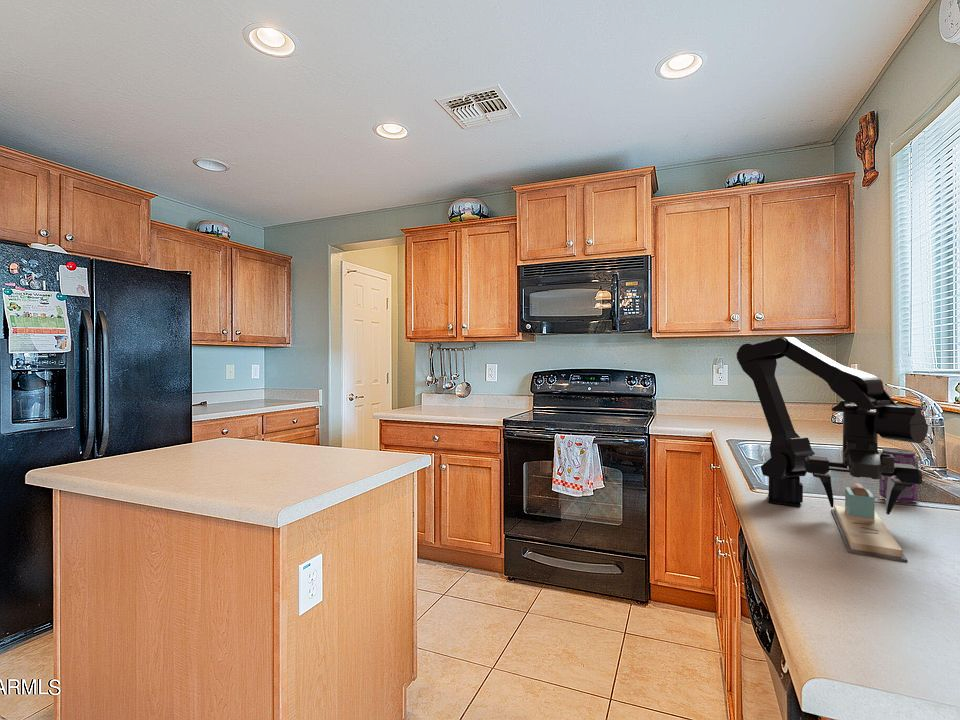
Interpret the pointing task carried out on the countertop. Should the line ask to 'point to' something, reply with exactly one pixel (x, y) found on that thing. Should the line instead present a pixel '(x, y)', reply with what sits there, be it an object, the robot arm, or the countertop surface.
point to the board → (867, 536)
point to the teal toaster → (859, 503)
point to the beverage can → (899, 457)
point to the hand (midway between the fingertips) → (859, 510)
